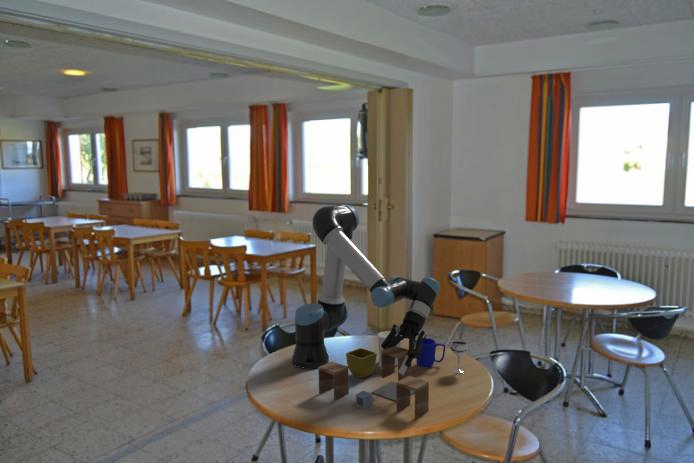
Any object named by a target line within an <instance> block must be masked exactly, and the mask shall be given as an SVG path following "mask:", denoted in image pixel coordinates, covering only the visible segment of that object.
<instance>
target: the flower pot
mask: <svg viewBox="0 0 694 463" xmlns="http://www.w3.org/2000/svg"><path fill="white" fill-rule="evenodd" d="M377 355H378V353H377V352H376V351H372V350H370V349H365V348H364V347H360V348H357V349H354V350H350V351H348V352H346V353H345V357H346V363H347V365H346V366H348V371H349V373H351V375H353V376H354V377H357V378H359V379H363V378H366V377H369V376H371V374H372V373H373V371H374V369H375V366H376V363H377Z"/></svg>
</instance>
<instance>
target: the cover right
mask: <svg viewBox="0 0 694 463" xmlns="http://www.w3.org/2000/svg"><path fill="white" fill-rule="evenodd" d="M395 383H396V401H395V402H396V403H395V404H396V407H395V408H396V412H400V411H402V410H404V409H405V408H407V407H408V406H410V405H411V396H410V390H413V391H415V393H414V418H415V419H418V418H420V417H421V416H422V415H424V414H426V413H428V412H429V411H430V410H429V403H430V402H429V401H430V399H429V394H430V393H429V391H430V390H429V389H430V388H429V386H430V384H429V383H430V382H429V381H427V380H424V379H421V378H418V377H414V376H412V375H411V376H407V377H405V378H403V379H401V380H400V381H398V380H397V381H396V382H395Z"/></svg>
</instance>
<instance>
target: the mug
mask: <svg viewBox="0 0 694 463" xmlns="http://www.w3.org/2000/svg"><path fill="white" fill-rule="evenodd" d="M416 343H417V339H416V341H415V347H416ZM439 346H441V347H443V351H442V356H441V358H440V359H438V360H437V359H436V349H437V347H439ZM445 354H446V344H444V343H439V342H438V343H436V340H434V339H432V338H427V337H426V338H425V339H424V342H423V346H422V349H421V353H420V357H419V359H417V358H415V359H416V360H415V362H416V365H418V367H420V368H431V367H432V366H434V363H437V364H438V363H442V362H443V361H444V357H445Z"/></svg>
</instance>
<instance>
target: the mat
mask: <svg viewBox="0 0 694 463" xmlns="http://www.w3.org/2000/svg"><path fill="white" fill-rule="evenodd" d="M371 394H372V395H376V396H379V397H382V398H385V399H388V400H390V401H394V402H396V382H395V381H392V380H391V381H389V382H388V383H386V384H384V385H382V386H380V387H378V388H377V389H376V388H375V389H374V390H373V391H371ZM412 395H415V391H413V390H410V397H411V396H412Z"/></svg>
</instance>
